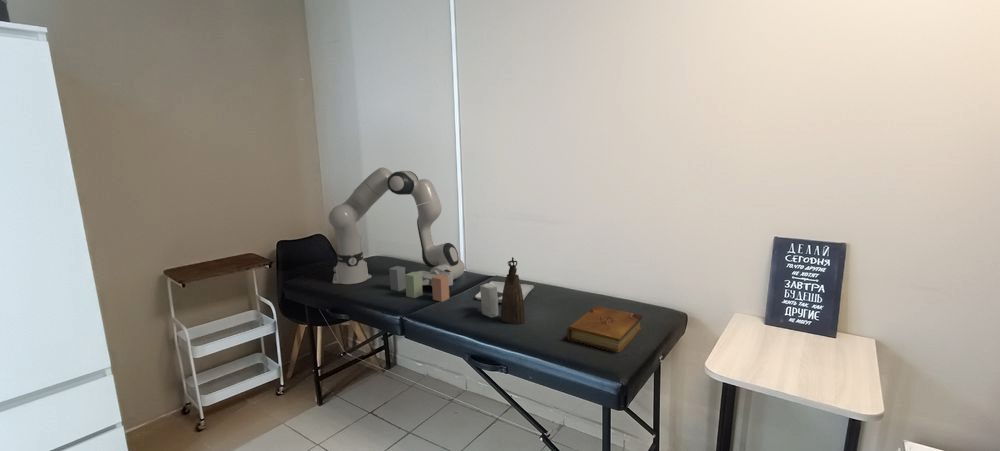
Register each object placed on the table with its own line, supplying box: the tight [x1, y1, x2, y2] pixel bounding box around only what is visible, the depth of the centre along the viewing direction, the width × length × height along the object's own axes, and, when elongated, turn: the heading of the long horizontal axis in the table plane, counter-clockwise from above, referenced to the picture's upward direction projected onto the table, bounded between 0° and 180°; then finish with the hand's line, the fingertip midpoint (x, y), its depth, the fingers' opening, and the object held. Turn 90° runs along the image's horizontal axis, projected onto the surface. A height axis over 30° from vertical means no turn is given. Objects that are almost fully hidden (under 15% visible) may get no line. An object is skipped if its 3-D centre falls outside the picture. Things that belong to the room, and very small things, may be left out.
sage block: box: [405, 271, 423, 299], centre depth 205 cm, size 5×5×10 cm
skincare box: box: [479, 282, 499, 318], centre depth 184 cm, size 6×4×12 cm
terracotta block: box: [431, 274, 450, 303], centre depth 200 cm, size 5×5×10 cm
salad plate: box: [474, 280, 535, 304], centre depth 205 cm, size 21×21×3 cm
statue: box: [500, 257, 526, 325], centre depth 176 cm, size 9×8×25 cm
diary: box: [566, 305, 643, 354], centre depth 165 cm, size 23×19×6 cm
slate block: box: [388, 265, 406, 292], centre depth 214 cm, size 5×5×10 cm
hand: (417, 283), depth 207 cm, fingers closed, pressing on sage block
